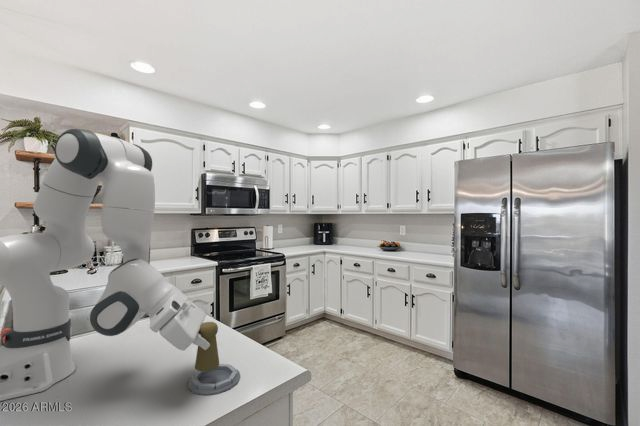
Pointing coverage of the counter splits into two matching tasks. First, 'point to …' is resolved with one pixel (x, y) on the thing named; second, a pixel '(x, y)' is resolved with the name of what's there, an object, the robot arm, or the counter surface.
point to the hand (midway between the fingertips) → (209, 342)
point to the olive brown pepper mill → (209, 356)
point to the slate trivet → (214, 380)
